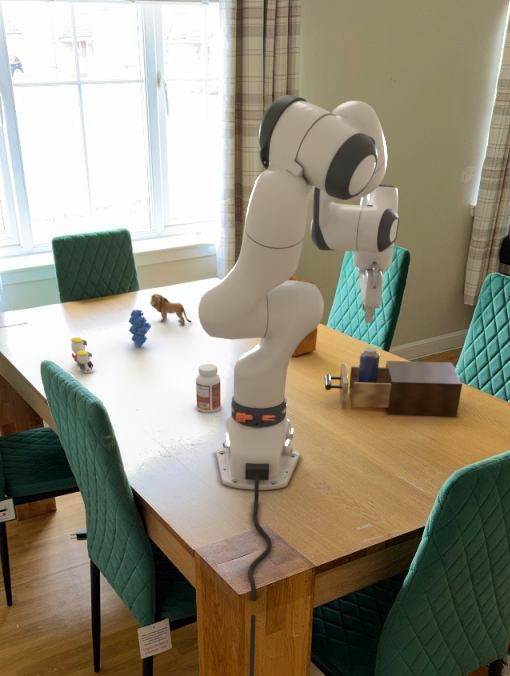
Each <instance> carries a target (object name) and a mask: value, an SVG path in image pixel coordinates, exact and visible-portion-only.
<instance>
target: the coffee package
mask: <svg viewBox="0 0 510 676" xmlns="http://www.w3.org/2000/svg"><path fill="white" fill-rule="evenodd" d="M288 280H294V281H302V282H308V283H313V284H314V282H313V281H309V280H302V279H297V276H296V275H295V273H294V274H293V275H292V276H291V277H290V278H289V279H288ZM314 285H315V284H314ZM317 339H318V326H317V327H316V329H315V330H313V331H312V332H311V333H309V334H308V335H307V336H306V337H305V338H304V339H303V340H302V341H301V342H300V343H299V345H298V346H297V348H296V349H295V351H294V352H293V354H292V357H299V356H301V355H304V354H308V353H309V354H310V353H313V352H315V351H316V350H317Z"/></svg>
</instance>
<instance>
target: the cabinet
mask: <svg viewBox="0 0 510 676" xmlns="http://www.w3.org/2000/svg"><path fill="white" fill-rule="evenodd" d="M385 367H387V369H388V373H389V376H390V380H391V392H390V400H389V408H386V412H387V415H389V416H412V417H413V416H415V417H444V418H445V417H447V418H449V417H450V418H457V416H458V410H459V405H460V398H461V394H462V389H463V388H462V387H463V382H462V381H461V380H462V379H460V376H459V374H458V373H457V370H456V368H455V366H454V364H453V362H443V361H442V362H441V361H437V362H436V361H407V360H404V361H402V360H386V362H385Z"/></svg>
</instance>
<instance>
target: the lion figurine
mask: <svg viewBox="0 0 510 676" xmlns="http://www.w3.org/2000/svg"><path fill="white" fill-rule="evenodd" d="M150 305H151V307H152V308H153V309H155V310H156V312H158V313H160V316H161V319H160V322H161V323H164V322H165V321H166V320H167V319H168V314H171V315H173V314H175V315H176V316H177V317H178V318H179V319H178V322H180V325H181V326H184V325H185V324H186V321H187V322H188V323H192V320H190V319H188V317H187V313H186V310H185V307H184V305H183V304H182V303H180V302H171V301H169V300H168V299H167V297H164V296H163V295H161V294H159V293H154V294H152V295H151V298H150ZM183 315H184V316H183ZM185 320H186V321H185Z"/></svg>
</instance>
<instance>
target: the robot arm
mask: <svg viewBox="0 0 510 676" xmlns="http://www.w3.org/2000/svg"><path fill="white" fill-rule="evenodd" d="M380 121H381V120H380V119H379V117H378V114H377V113H376V111H375V109H374V108H373V107H372V106H371V105H370V104H368V103H367V102H364V101H361V100H348V101H344V102H342V103H341V104H340V105H338V106H337V107H335V108H334V109H333V110H332V112H330V111H328V110H327V109H325V108H322V107H320V106H319V105H315V104H313V103H311V102H308V100H306V99H305V98H304V97H300V96H297V95H292V94H284V95H281V96H279V97H278V98H276V99H275V100H274V101H273V102H272V103H271V104H269V106H268V107H267V108H266V110H265V111H264V113H263V116H262V118H261V122H260V123H259V131H258V147H259V160H260V162H261V165H262V166H263V168H264V169H265V170H263V171H262V172H261V173H260V174H259V175H258V177H257V178H256V180H255V183H254V186H253V188H252V192H251V194H250V197H249V202H248V206H247V209H246V215H245V222H244V229H243V235H242V243H241V246H240V247H241V248H240V252H239V255H238V258H237V261H235V264H234V266H233V267H232V268H231V270H230V271H229V272H228V274H226V276H225V277H224V278H223V279H221V280H220V281H219V282H218V283H215V284H214V285H213V286H211V287H209V288H208V289H207V290H206V291H204V293H203V294H202V296H201V299H200V301H199V304H198V309H197V310H198V312H197V313H198V320H199V323H200V326H201V327H202V329H203V330H204V332H205V333H206V334H207V335H208V336H209V337H211V338H217V339H223V340H233V341H234V340H245V339H246V340H247V339H260V340H259V342H258V343H257V344H256V345H255V346H254V347H253V348H252V349H250V350H249V351H246V352H244V354H242V355H241V356H240V357H239V358H238V359H237V361H236V362H235V365H234V367H233V395H232V397H231V403H230V409H231V411H230V412H231V414H230V416H229V417H228V418H227V419H225V425H224V426H225V431H224V433H225V435H224V436H225V437H224V440H225V441H223V443H222V446H223V447H219V448H218V449H216V451H215V456H216V461H217V465H218V466H217V467H218V471H219V476H220V480H221V484H222V485H224V486H226V487H230V488H234V489H242V490H253V491H254V496H253V499H254V500H253V511H252V512H253V513H252V520H253V524H254V527H255V528H256V530H257V531H258V532H259V533H260V535H261V536H262V537H263V538H264V539H265V541H266V548H265V550H264V551H263V552H262V553H261V554H260V555H259V556H257V558H256V559H254V560H253V561H252V563H250V566H249V568H248V571H247V577H248V581H249V584H250V591H251V592H250V593H251V595H250V596H251V601H252V602H257V587H256V586H257V585H256V582H255V579H254V570H255V568H256V567H257V565H258V564H260V562H261V561H263V560H264V559H265V558H266V557H267V556H268V555H269V554H270V552H271V550H272V546H273V545H272V540H271V538H270V536H269V535H268V533H267V532H266V531H265V530H264V529H263V528H262V527H261V525H260V523H259V521H258V512H259V496H260V495H259V493H260V491H270V490H278V489H283V488H286V487H287V486H288V485H289V482H290V480H291V478H292V476H293V474H294V471H295V469H296V467H297V464H298V462H299V460H300V452H299V451H296V450H294V449H293V446H292V440H293V438H294V434H293V433H294V428H293V422H292V421H291V420H289V418H288V417H287V409H288V403H287V398H286V382H287V374H288V367H289V364H290V361H291V359H292V357H293V355H292V354H293V352H294V351H295V349H296V348H297V346H298V345H299V343H300V342H301V341H302V340H303V339H304V338H305V337H306V336H307V335H308V334H309V333H311V332H312V331H313V330H315V329H316V327H317V328H318V327H319V325H320V323H321V321H322V319H323V317H324V314H325V313H324V312H325V301H324V297H323V294H322V292H321V291H320V289H319V288H318V286H317V285H316V284H313V283H314V282H313V283H308V282H302V281H303V280H302V281H294V280H289V278H290V277H291V276H292V275H293V274H294V275H295V272H296V271H297V269H298V267H299V264H300V260H301V255H302V250H303V245H304V239H305V235H306V229H307V224H308V215H309V194H310V191H312V189H313V192H312V219H311V224H310V238H311V241H312V243H313V244H314V245H315V246H316V248H318V249H319V251H343V252H354V258H353V266H355V267H356V268H357V271H358V280H359V281H358V282H359V288H360V292H361V297H362V306H361V309H362V311H364V312H365V314H364V322H365V323H366V324H372V323H373V322H374V315H375V311H376V309H380V307H381V303H382V293H383V284H384V283H383V282H384V281H383V279H384V277H383V275H385V274H386V270H387V269H389V268H391V267H392V266H393V257H394V248H395V242H396V240H397V238H398V232H399V224H400V217H399V215H398V213H399V194H398V192H399V191H398V187H396V186H395V185H392V184H381V183H382V182H383V180H384V177H385V175H386V172H387V166H388V165H387V163H388V152H387V144H386V138H385V134H384V130H383V127H382V124H381V122H380ZM359 199H360V203H359V204H347V203H346V204H345V203H337V202H338V201H349V200H359ZM256 616H257V615H256V614H251V615H250V632H249V633H250V634H249V637H250V638H249V672H248V673H249V675H248V676H255V650H256V649H255V648H256V622H257V621H256V618H257V617H256Z"/></svg>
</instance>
